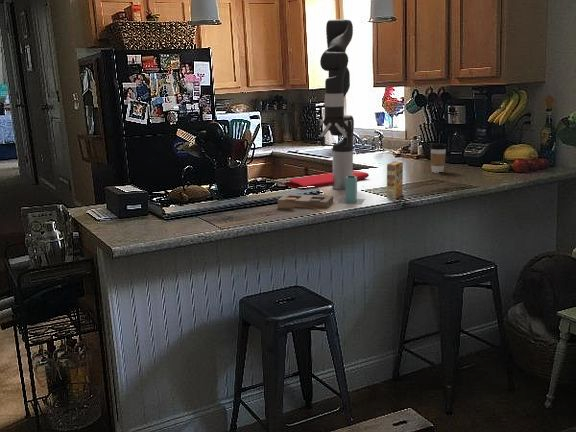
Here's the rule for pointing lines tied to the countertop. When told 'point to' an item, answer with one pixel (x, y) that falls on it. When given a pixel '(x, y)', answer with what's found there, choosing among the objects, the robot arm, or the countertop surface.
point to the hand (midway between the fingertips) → (334, 146)
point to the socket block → (304, 201)
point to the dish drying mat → (320, 180)
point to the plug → (351, 188)
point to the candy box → (394, 179)
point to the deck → (359, 201)
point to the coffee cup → (438, 157)
